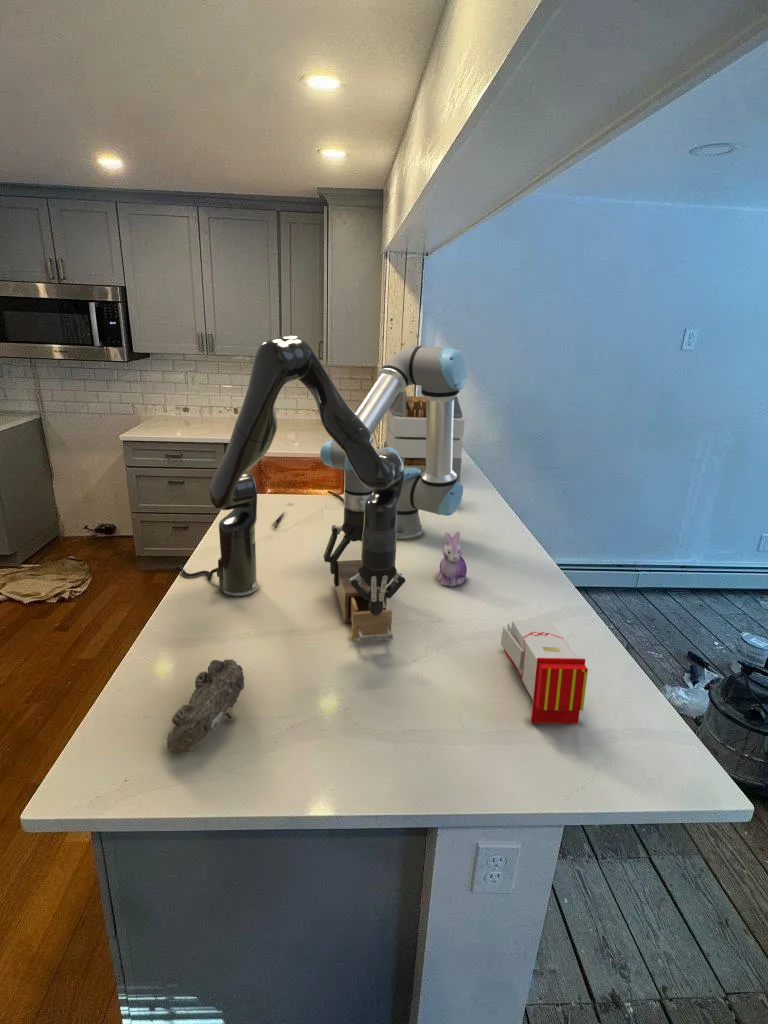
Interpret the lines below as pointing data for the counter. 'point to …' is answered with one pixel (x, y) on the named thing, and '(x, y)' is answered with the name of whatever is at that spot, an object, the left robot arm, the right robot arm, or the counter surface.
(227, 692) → the fossil
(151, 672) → the counter surface
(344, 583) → the cabinet
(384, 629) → the drawer
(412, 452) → the white slatted crate
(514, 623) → the toy
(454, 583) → the figurine
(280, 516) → the feather
